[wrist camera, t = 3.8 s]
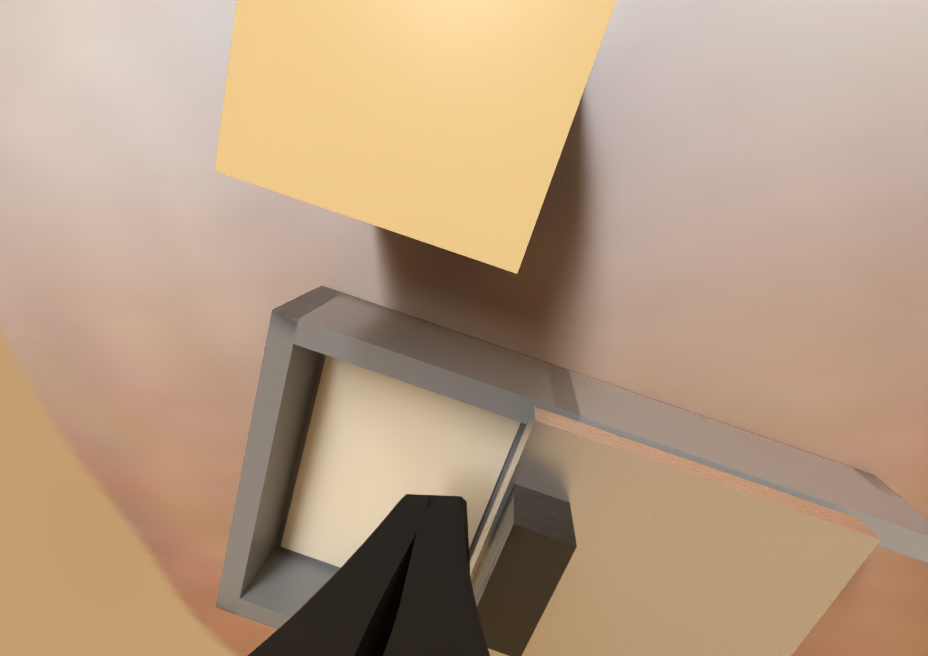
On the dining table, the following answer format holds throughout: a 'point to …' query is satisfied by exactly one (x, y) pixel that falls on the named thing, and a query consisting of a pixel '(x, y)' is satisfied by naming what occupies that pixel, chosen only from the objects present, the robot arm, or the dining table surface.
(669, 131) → the dining table surface
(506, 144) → the block
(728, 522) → the lid
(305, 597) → the case
